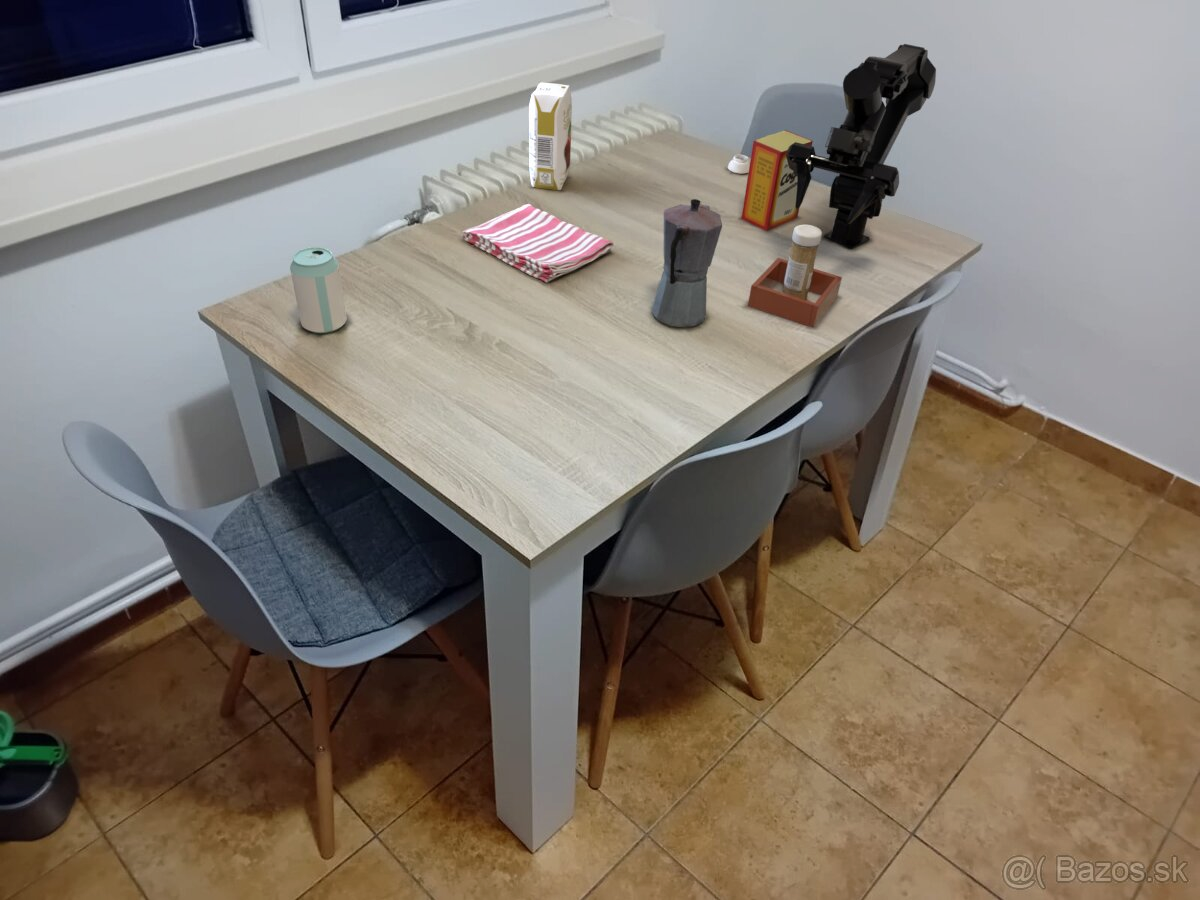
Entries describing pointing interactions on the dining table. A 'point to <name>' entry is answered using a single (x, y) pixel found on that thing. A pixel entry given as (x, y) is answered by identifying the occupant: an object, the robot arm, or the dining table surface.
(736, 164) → the white jar
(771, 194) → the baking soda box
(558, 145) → the juice carton
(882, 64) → the robot arm
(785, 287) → the sprinkles bottle
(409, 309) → the dining table surface
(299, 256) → the can
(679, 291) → the moka pot
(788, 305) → the holder
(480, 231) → the dish towel
